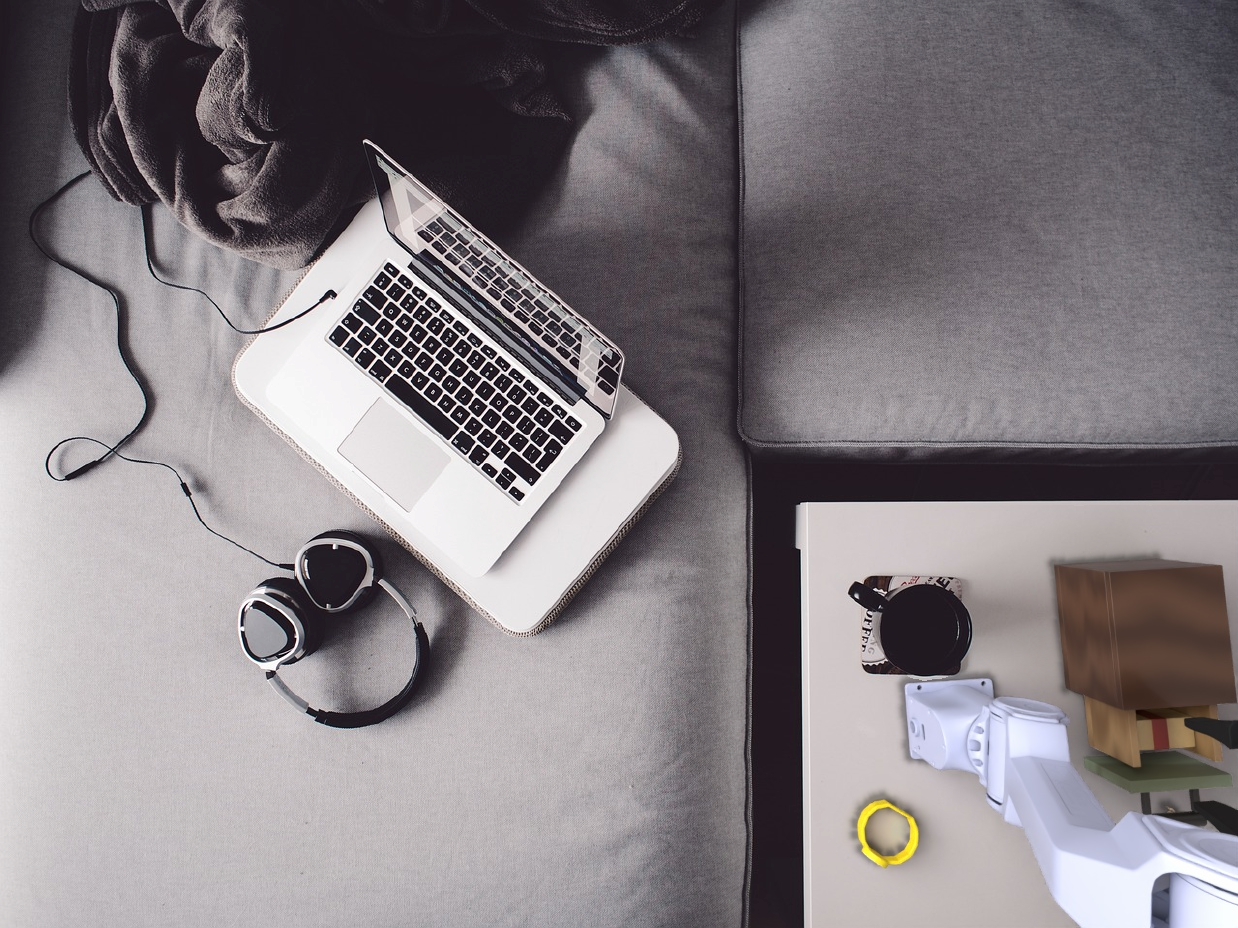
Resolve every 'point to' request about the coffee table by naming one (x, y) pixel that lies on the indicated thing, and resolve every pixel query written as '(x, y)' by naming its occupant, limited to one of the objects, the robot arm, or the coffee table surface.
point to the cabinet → (1146, 633)
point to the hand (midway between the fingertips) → (1199, 762)
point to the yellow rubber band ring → (874, 855)
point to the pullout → (1152, 758)
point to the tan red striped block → (1163, 729)
